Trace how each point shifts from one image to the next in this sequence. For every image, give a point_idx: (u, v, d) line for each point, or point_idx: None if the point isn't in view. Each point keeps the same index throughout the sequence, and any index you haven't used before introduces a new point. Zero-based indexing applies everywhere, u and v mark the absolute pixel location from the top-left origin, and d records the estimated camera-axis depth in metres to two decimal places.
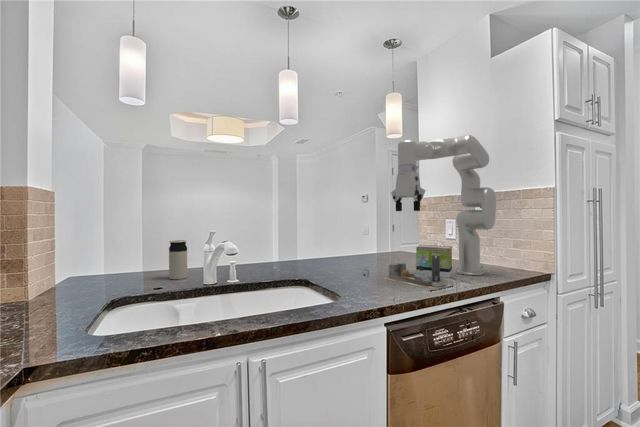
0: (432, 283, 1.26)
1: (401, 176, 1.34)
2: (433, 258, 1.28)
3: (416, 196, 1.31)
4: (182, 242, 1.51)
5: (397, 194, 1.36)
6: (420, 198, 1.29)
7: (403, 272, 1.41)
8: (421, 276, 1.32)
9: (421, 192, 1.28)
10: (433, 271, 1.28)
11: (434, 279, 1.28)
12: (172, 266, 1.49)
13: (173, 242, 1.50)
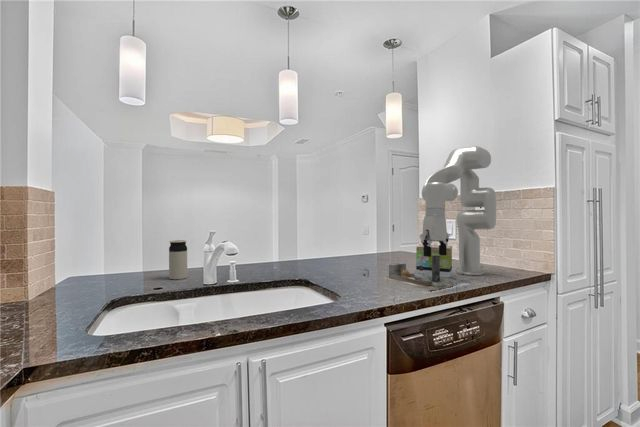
0: (432, 283, 1.26)
1: (439, 219, 1.26)
2: (433, 258, 1.28)
3: None
4: (182, 242, 1.51)
5: (433, 238, 1.25)
6: None
7: (403, 272, 1.41)
8: (421, 276, 1.32)
9: (448, 237, 1.32)
10: (433, 271, 1.28)
11: (434, 279, 1.28)
12: (172, 266, 1.49)
13: (173, 242, 1.50)
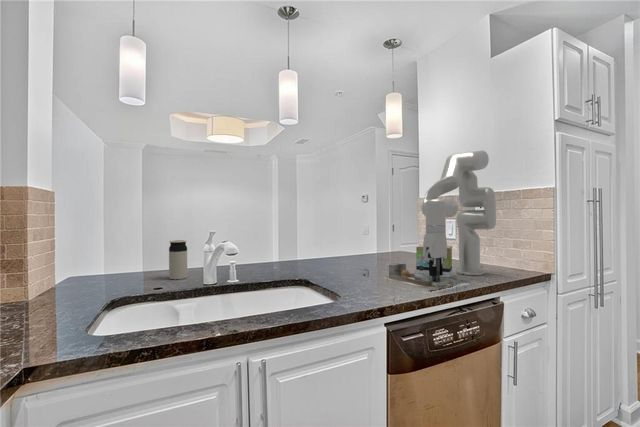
0: (432, 283, 1.26)
1: (439, 236, 1.26)
2: None
3: None
4: (182, 242, 1.51)
5: (434, 255, 1.25)
6: None
7: (403, 272, 1.41)
8: (421, 276, 1.32)
9: (445, 257, 1.31)
10: None
11: (434, 279, 1.28)
12: (172, 266, 1.49)
13: (173, 242, 1.50)
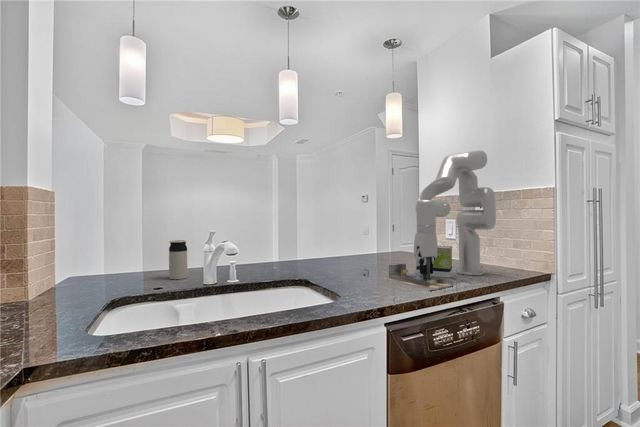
0: None
1: (430, 236, 1.30)
2: None
3: None
4: (182, 242, 1.51)
5: (424, 254, 1.29)
6: None
7: (403, 272, 1.41)
8: (412, 274, 1.36)
9: (435, 256, 1.35)
10: None
11: (425, 277, 1.31)
12: (172, 266, 1.49)
13: (173, 242, 1.50)
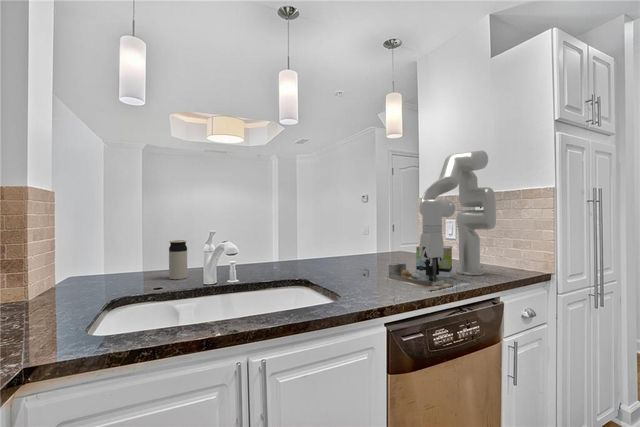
0: None
1: (436, 236, 1.28)
2: None
3: None
4: (182, 242, 1.51)
5: (430, 255, 1.26)
6: None
7: (403, 272, 1.41)
8: (418, 275, 1.34)
9: (441, 257, 1.32)
10: None
11: (431, 278, 1.29)
12: (172, 266, 1.49)
13: (173, 242, 1.50)
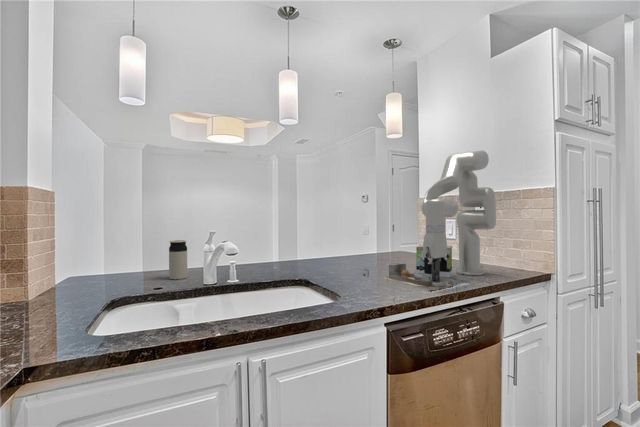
0: (432, 283, 1.26)
1: (439, 236, 1.26)
2: None
3: None
4: (182, 242, 1.51)
5: (434, 256, 1.25)
6: None
7: (403, 272, 1.41)
8: (421, 276, 1.32)
9: (448, 253, 1.32)
10: (433, 271, 1.28)
11: (434, 279, 1.28)
12: (172, 266, 1.49)
13: (173, 242, 1.50)
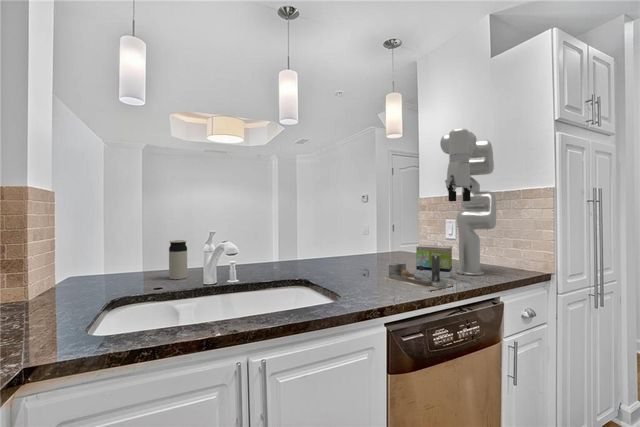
0: (432, 283, 1.26)
1: (463, 165, 1.29)
2: (433, 258, 1.28)
3: (463, 187, 1.35)
4: (182, 242, 1.51)
5: (458, 183, 1.28)
6: None
7: (403, 272, 1.41)
8: (421, 276, 1.32)
9: (471, 183, 1.36)
10: (433, 271, 1.28)
11: (434, 279, 1.28)
12: (172, 266, 1.49)
13: (173, 242, 1.50)
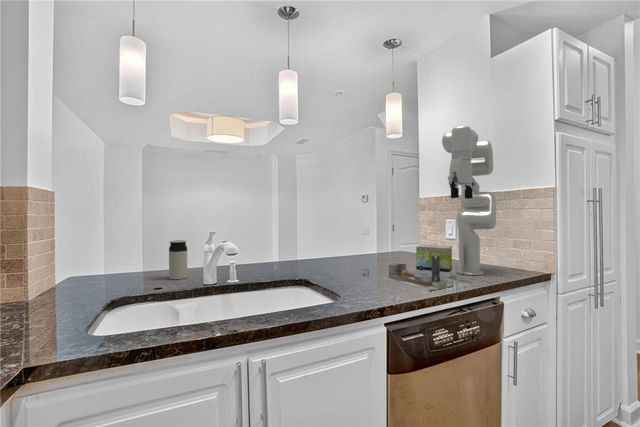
0: (432, 283, 1.26)
1: (466, 162, 1.30)
2: (433, 258, 1.28)
3: (465, 184, 1.35)
4: (182, 242, 1.51)
5: (461, 180, 1.28)
6: None
7: (403, 272, 1.41)
8: (421, 276, 1.32)
9: (473, 181, 1.36)
10: (433, 271, 1.28)
11: (434, 279, 1.28)
12: (172, 266, 1.49)
13: (173, 242, 1.50)
